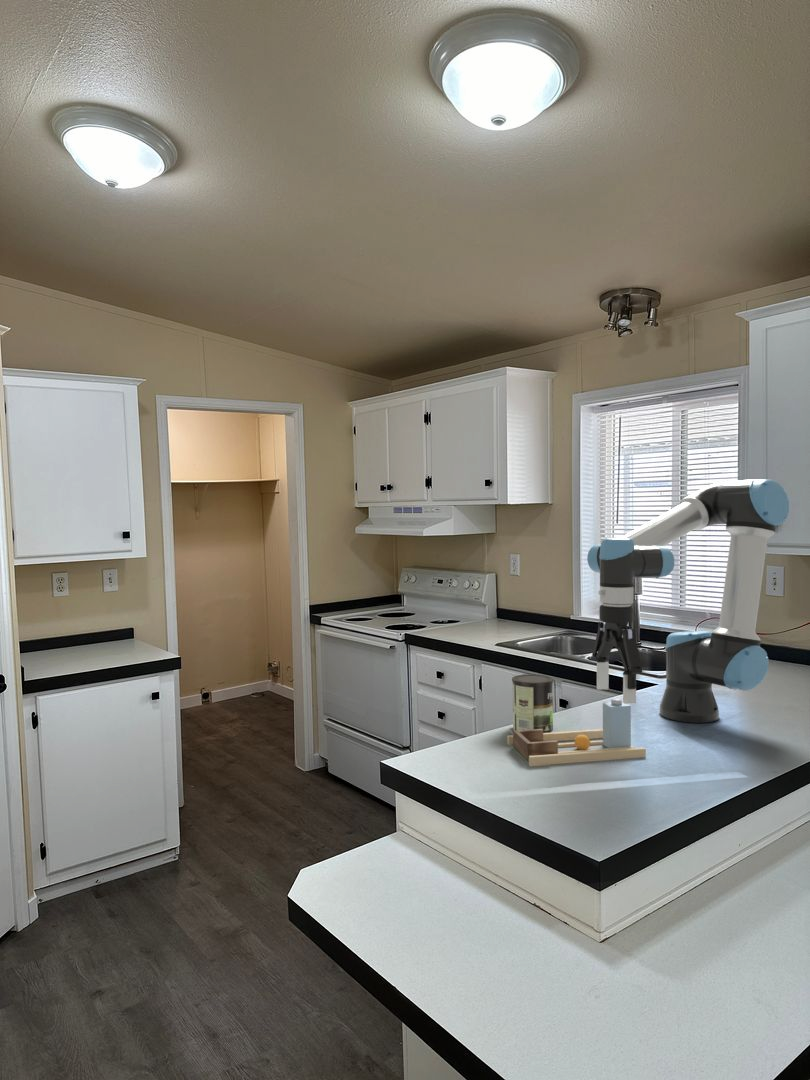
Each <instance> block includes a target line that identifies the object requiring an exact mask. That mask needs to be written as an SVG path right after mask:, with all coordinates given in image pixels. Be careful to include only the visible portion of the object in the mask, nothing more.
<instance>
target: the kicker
mask: <svg viewBox="0 0 810 1080" xmlns="http://www.w3.org/2000/svg"><path fill="white" fill-rule="evenodd" d="M631 710H632V707H631V704H629V703H626V704H624V703H623V699H620V698H612V699H611V701H608V702H602V729H603V738H602V741H603V744H602V746H604V747H605V748H619V747H632V745H631V743H632V736H631V735H632V734H631V733H632V730H631V729H632V728H631V727H632V726H631V724H632V721H631V719H632V712H631Z"/></svg>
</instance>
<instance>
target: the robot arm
mask: <svg viewBox="0 0 810 1080" xmlns="http://www.w3.org/2000/svg"><path fill="white" fill-rule="evenodd" d="M789 512H790V501H789V497H788V494H787V492H786V491H785V489H784V487H783V486H782V484H780V483H778V482H777V481H776V480H774V479H770V478H769V479H768V478H767V479H764V478H755V479H743V480H742V479H741V480H725V481H724V480H723V481H719V482H715V483H713V484H709V485H707V486H706V487H704V488H701V489H698V490H697V491H695V492H693V493H691V494H689V495H688V496H686V497H684V498H682V499H681V500H680V501H679V503H678V505H677V506H675V507H673V508H672V509H670V510H668V511H666V512H664V513H662V514H661V515H659V516H657V517H655V518H653V519H651V520H649V521H648V522H646V523H644V524H642V525H641V526H639V527H636V528H635V529H634V530H631V531H629V532H628V533H626V534H625V535H622V536H620V537H618V538H616V537H614V538H613V537H612V538H610V537H609V538H603V539H602V540H601V542H600V543H599V544H595V545H592V546H591V548H589V551H587V552H588V553H587V557H586V560H587V565H588V566H589V568H590V570H591V571H593V572H595V573H598V574H599V590H598V595H599V602H600V604H601V605H600V606H599V611H598V612H599V614H598V615H599V622H598V624H597V625H598V626H597V633H596V636H595V637H596V638H595V641H594V644H593V645H594V646H593V649H592V654H591V657H592V658H595V662H596V690H599V691H600V690H609V684H610V683H609V679H610V677H609V676H610V675H609V674H610V672H609V671H610V670H609V669H610V667H609V666H610V662H609V661H610V659H609V657H610V653H611V652H612V650H613V647H614V648H615V649H616V650H617V651H618V654H619V657H620V661H621V664H622V666H623V670H624V671H623V672H622V683H623V684H622V701H623V703H624V704H636V703H637V700H636V699H637V675H639V674H643V668H642V664H641V659H640V654H639V649H638V644H637V640H636V630H635V628H633V629H632V628H631V629H630V628H629V629H628V624H629V623H632V622H633V621H634V607H633V604H634V590H635V589H634V588H635V587H634V580H635V579H648V578H649V579H651V578H656V579H659V578H663V577H667V576H669V575H670V574H671V573H672V572H673V570H674V568H675V555H674V553H673V551H671V549H669V548H668V547H666V546H667V545H669V544H670V543H673V542H674V541H676V540H677V539H679V538H681V537H683V536H684V535H687V534H688V533H690V532H691V531H693V530H695V531H701V530H703V529H705V528H706V527H709V526H714V525H716V526H717V525H725V529H726V531H727V532H728V533H729V534H730V541H729V542H730V543H729V547H728V548H729V550H728V555H727V565H726V571H725V577H724V578H725V579H724V586H723V587H724V588H723V593H722V600H721V608H720V614H719V622H718V626H717V627H716V628H715V629H714V630H712V631H709V630H691V631H688V630H687V631H677V632H671V633H670V634H668V636H667V637H666V643H665V644H666V645H665V667H666V668H665V671H666V672H665V674H666V675H665V677H666V683H665V684H666V685H665V689H664V692H663V695H662V698H661V701H660V704H659V715H660V716H662V717H664V718H666V719H669V720H672V721H677V722H684V723H693V724H699V723H700V724H703V723H712V722H716V721H718V720H719V718H720V710H719V706H718V704H717V700H716V697H715V694H714V692H713V685H716V686H720V687H725V688H728V689H730V690H734V691H735V690H738V691H743V692H746V691H752V690H754V689H756V688H757V687H758V686H759V685H760V684H761V683H762V682H763V680H764V679H765V678H766V677H767V674H768V669H769V657H768V653H767V651H766V650H765V649H764V648H763V647H761V638H760V637H759V635H758V634H757V632H756V629H757V627H756V626H757V621H758V620H757V619H758V612H759V606H760V598H761V597H760V596H761V590H762V583H763V575H764V570H765V569H764V568H765V559H766V553H767V545H768V540H769V539H770V538H772V537H773V536H774V535H775V534H776V527H777V526H779V525H782V524H783V523H784V522H785V520H786V519H787V518H788V517H789V516H788V515H789Z"/></svg>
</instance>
